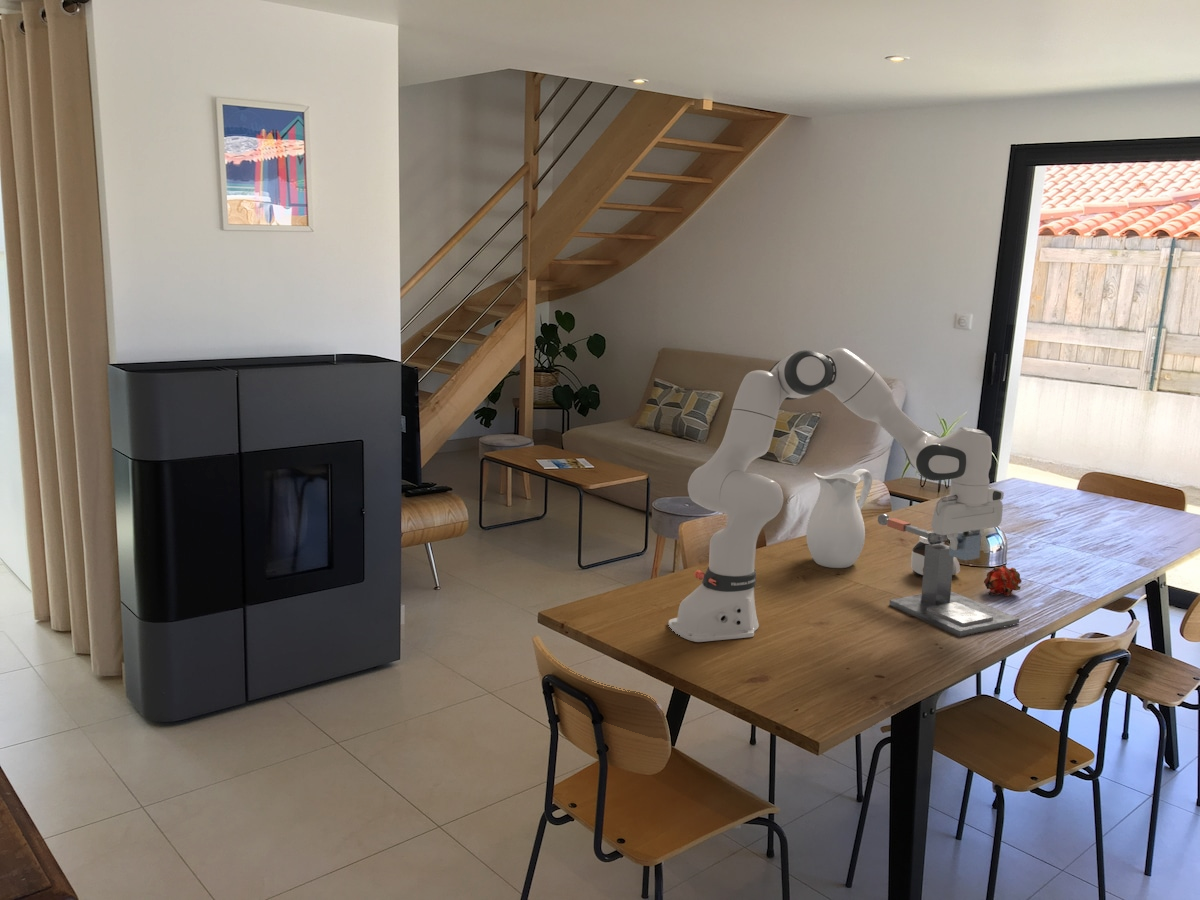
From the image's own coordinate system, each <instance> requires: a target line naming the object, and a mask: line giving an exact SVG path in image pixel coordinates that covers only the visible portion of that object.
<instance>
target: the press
mask: <svg viewBox="0 0 1200 900" xmlns="http://www.w3.org/2000/svg"><path fill="white" fill-rule="evenodd" d="M949 548H950V545H947V544H945V543H944V544H942V543H940V544H933V545H932V544H929V545H925V557H924V570H923V578H922V586H921V593H919V594H915V595H914V594H912V595H909V596H904V597H899V598H892V599H889V606H890V607H893V608H895V609H897V610H899V611H901V612H903V613H905V614H907V615H910V616H912V617H914V618H917V619H919V620H921V621H923V622H926V623H927V624H929V625H932V626H933V627H936V628H939V629H941V630H944V631H945V632H948V633H950V634H951V635H954V636H957V637H959V638H962V637H966V635H967V636H971V635H975V634H974V633H976V634H979V633H978V632H981V633H984V631H985V632H989V631H988V630H990V631H993V630H992V629H995V630H998V629H997V628H999V629H1001V628H1000V627H1004V626H1008V627H1011V626H1010V625H1013V624H1017V623H1019V624H1020V618H1019V617H1017V616H1014V615H1012V614H1009V613H1006V612H1004V611H1001V610H999V609H997V608H994V607H991V606H988V605H986V604H984V603H982V602H980V601H976V600H974V599H972V598H969V597H967V596H964V595H962V594H959V593H957V592H954V591H952V581H953V575H952V570H953V558H954V557H953V556H950V555H949ZM1013 626H1014V625H1013ZM1004 628H1005V627H1004ZM982 631H983V632H982ZM970 634H971V635H970Z"/></svg>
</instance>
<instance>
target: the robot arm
mask: <svg viewBox="0 0 1200 900" xmlns="http://www.w3.org/2000/svg"><path fill="white" fill-rule="evenodd" d="M823 390H825V391H828V392H829V393H830V394H833V396H835V398H836V399H838V401H839V402H840V403H841V404H842V405H843V406H844V407H846V408H847V409H848V410H849V411H851V412H852V413H853V414H854V415H856V416H858V417H859V418H861V419H863V420H865V421H869V422H873V423H876V424H877V425H879V426H880V427H881V428H883V430H884V431H886V432H887V433H888V434H889V435H890V436H891V437H892V438H893V439H894V440H895V441H896V442H898V444H899V445H900V446H901V447H902V449H903V450H904V453H905V456H906V459H907V461H908V463H909V464H910V465H911V467H913V469H915V470H916V472H918V474H920V476H922V478H925V479H927V480H929V481H947V480H950V488H949V496H943V497H942V496H941V497H940V499H939V500H938V501H937V502H936V504H935V507H934V510H933V515H932V521H931V530H932V532H933V533H937V534H940V535H947V537H948V540H949V546H950V548H951V549H952V550H958V549H960V543H959V542H958V541H957V538H956V537H958V533H961V532H968V531H972V532H975V533H978V534H981V538H982V536H983V535H984V533H985V530H986V529H993V528H999V526H1000V524H1001V523H1002V519H1003V502H1002V500H1003V499H1004V496H1005V495H1004V494H1005V493H1004V491H1002V490H998V489H997V488H992V487H990V478H989V473H990V469H991V467H992V457H993V456H992V455H993V454H992V453H993V447H992V439H991V436H989V434H988V433H987V432H985V431H984V430H980V429H978V428H973V427H970V426H968V427H967V426H961V427H958V428H957V429H956V430H955V431H953V432H952V433H949V434H946V435H945V436H943V437H942V436H940V435H937V434H936V433H933V432H931V431H928V430H924V429H922V428H921V427H920V426H918V424H917V423H915V422H914V421H913V420H912V419H911V418H910V417H909V416H908V415H907V414H906V413H905V412H904V410H903V411H902V410H901V408H900V406H898V404H897V402H896V401H895V398H894V397H895V396H894V392H893V391H892V389H891V388H890V386H889V385H888V384H887V382H886V381H885V380H884V378H883V377H882V376H881V375H880V374H879V373H878V372H877V371H876V370H875V369H874V368H873V367H872V366H871V365H869V364H868V363H867V362H866V361H865V360H863V358H861V357H859V356H858V355H856V354H855V353H854V352H852V351H850V350H849V349H847V348H845V347H837V348H833V349H831V350H830V351H827V353H822V352H817V351H813V350H798V351H797V352H793V353H790V354H788V355H786V356H784V357H783V358H782V359H780V360H778V361H777V362H776V363H775V364H774V365H773V366H772V367H771V368H770V370H768V371H767V370H764V369H763V370H762V369H757V370H756V369H755V370H752V371H750V372H747V374H745V376H744V377H743V380H742V381H741V383H740V385H739V388H738V390H737V393H736V395H735V397H734V398H735V399H734V402H733V403H732V404H733V405H732V409H731V412H730V416H729V419H728V422H727V423H728V424H727V427H726V430H725V433H724V435H723V438H722V441H721V443H720V445H719V447H718V448H717V450H716V451H715V453H714V454H713V455H712V456H711V458H710V459H709V460H708V461H707V462H705V463H704V464H702V465H701V466H699V467H697V468H696V469H694V471H693V472H692V473H691V475H690V477H689V479H688V482H687V493H688V497H689V499H690V500H691V501H692V502H693V503H694V504H696V505H698V506H700V507H702V508H704V509H706V510H709V511H712V512H715V513H716V512H717V513H720V514H725V515H727V521H726V525H725V527H723V528H721V529H719V530H717V531H716V532H715V533H714V534H713V535H712V536H711V538H710V540H709V556H708V557H709V558H708V560H709V561H708V567H707V569H706V571H705V572H704V571H702V570H700V569H697V570H696V571H695V572H694V577H695V578H696V579H698V580H700V581H701V580H702V581H701V584H700V585H698V586H697V587H696V588H695V589H694V590H692V592H691V593H690V594H689V595H687V596H686V597H684V599H682V600H681V601H680V604H679V607H678V611H677V617H673V618H671V619H668V622H667V623H668V624H667V625H669V626H668V628H669V627H670V628H671V629H672V630H671V629H670V628H669V629H670V630H671V631H672V632H673V631H674V632H675V633H674V632H673V633H674V634H676V635H677V634H678V635H677V636H679V635H680V636H679V637H680V638H682V639H683V638H684V639H685V640H688V641H691V642H695V643H703V642H713V641H722V640H723V641H725V640H736V639H743V638H744V639H746V638H752V637H754V636H755V632H756V631H757V630H758V629H759V627H760V623H759V621H758V617H757V616H758V615H757V610H756V602H755V588H756V585H757V579H756V578H757V577H756V576H757V571H756V569H755V564H756V549H757V543H758V542H757V541H758V538H759V535H760V533H761V531H762V529H763V527H764V526H765V525H766V524H767V523H768V522H770V521H771V520H773V519H775V517H777V516H778V514H779V513H780V512H781V510H782V507H783V504H784V493H783V492H784V491H783V490H782V487H781V485H780V484H779V483H778V482H777V481H775V480H773V479H771V478H769V477H766V476H764V475H762V474H759V473H753V472H748V471H747V468H748V467H749V466H750V464H751V463H752V462H753V461H755V460H756V459H758V458H761V457H762V456H765V455H766V454H767V452H768V451H769V450H770V447H771V443H772V440H773V436H774V432H775V428H776V423H777V421H778V416H779V413H780V412H779V411H780V408H781V405H782V404H783V402H784V400H785V401H786V400H787V401H788V400H790V401H791V400H796V399H804V398H808V397H810V396H812V395H814V394H817V393H819V392H821V391H823ZM950 542H951V544H950Z"/></svg>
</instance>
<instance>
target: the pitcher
mask: <svg viewBox="0 0 1200 900" xmlns="http://www.w3.org/2000/svg"><path fill="white" fill-rule="evenodd" d="M813 475H814V476H815V478H816V479H817V480H818V483H819V485H820V489H819V494H818V498H817V500H816V502H815V504H814V506H813V508H812V510H811V512H810V514H809V517H808V522H807V526H806V544H807V547H808V550H809V553H810V556H811V557H812V559H813V561H814V562H815V563H816V564H817V565H819V566H821V567H825V568H829V569H830V568H831V569H844V568H850V567H852V566H853V565H854V564H855V563H856V561H857V560H858V558H859V556H860V555H861V553H862V550H863V548H864V544H865V538H866V529H865V523H864V518H863V514H862V509H863V507H864V505H865V502H866V501H867V499H868V496H869V493H870V490H871V488H872V485H873V484H872V483H873V475H872V473H871V472H870V471H869V470H868V469H865V468H859V469H857V470H855V471H853V472H852V473H848V472H838V473H837V472H836V473H833V474H831V475H826V476H823V475H820V474H818V473H816V472H813ZM862 476H863V482H862V483H863V485H862V489H861V492H860V495H859V498H858V500H857V497H856V496H857V495H856V489H857V486H858V484H859V483H860V481H861V477H862Z"/></svg>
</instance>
